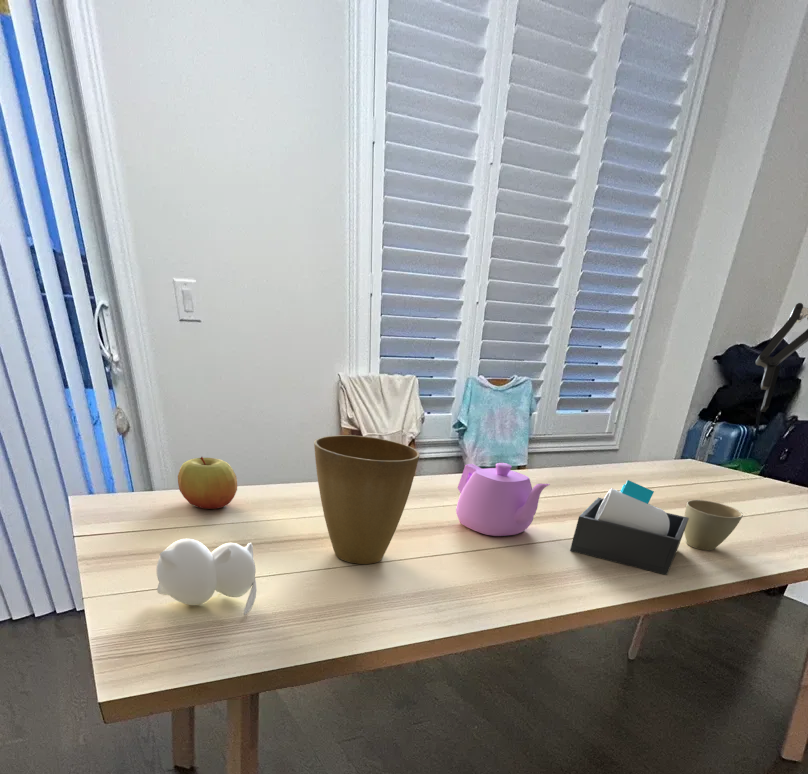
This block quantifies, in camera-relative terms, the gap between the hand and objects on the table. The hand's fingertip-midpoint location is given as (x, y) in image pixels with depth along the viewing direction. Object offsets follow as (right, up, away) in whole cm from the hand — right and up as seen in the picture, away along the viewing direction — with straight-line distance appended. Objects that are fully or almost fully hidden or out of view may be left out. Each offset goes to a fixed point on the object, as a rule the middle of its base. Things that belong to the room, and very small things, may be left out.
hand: (807, 414), depth 108 cm
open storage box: (-29, -21, +6) cm, 36 cm away
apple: (-103, -15, +3) cm, 104 cm away
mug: (-30, -20, +5) cm, 36 cm away
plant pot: (-76, -27, -9) cm, 81 cm away
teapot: (-52, -17, +9) cm, 55 cm away
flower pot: (-12, -19, +13) cm, 26 cm away
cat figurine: (-93, -38, -28) cm, 104 cm away
